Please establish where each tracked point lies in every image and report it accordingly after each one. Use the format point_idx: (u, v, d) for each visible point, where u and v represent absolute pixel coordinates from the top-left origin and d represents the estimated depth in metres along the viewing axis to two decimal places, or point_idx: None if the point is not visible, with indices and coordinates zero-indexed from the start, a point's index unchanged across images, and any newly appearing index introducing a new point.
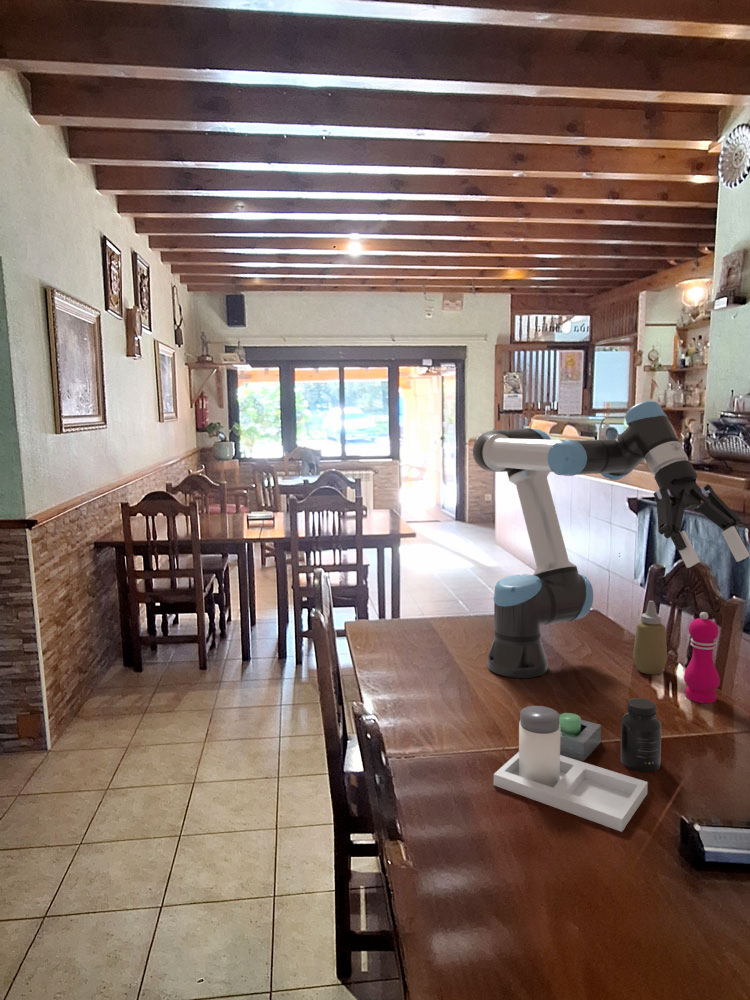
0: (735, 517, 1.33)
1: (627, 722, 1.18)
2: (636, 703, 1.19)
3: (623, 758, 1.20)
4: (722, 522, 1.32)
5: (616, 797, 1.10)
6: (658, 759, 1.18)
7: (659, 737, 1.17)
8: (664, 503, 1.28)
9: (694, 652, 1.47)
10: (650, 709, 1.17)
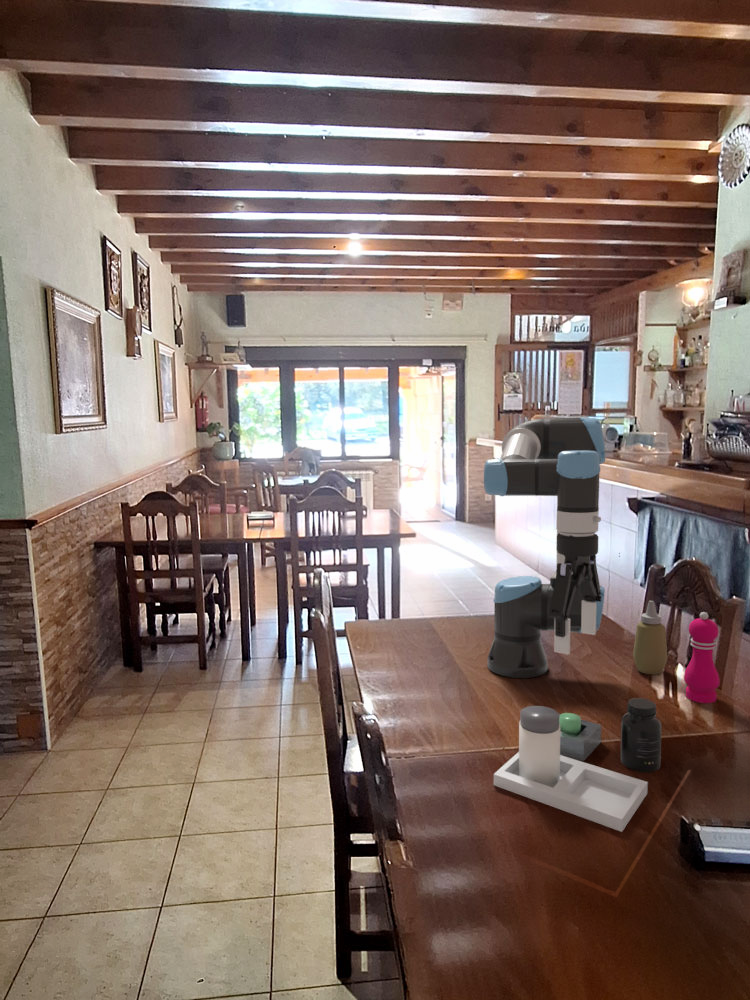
0: (599, 590, 1.31)
1: (627, 722, 1.18)
2: (636, 703, 1.19)
3: (623, 758, 1.20)
4: (588, 594, 1.29)
5: (616, 797, 1.10)
6: (658, 759, 1.18)
7: (659, 737, 1.17)
8: (565, 585, 1.17)
9: (694, 652, 1.47)
10: (650, 709, 1.17)
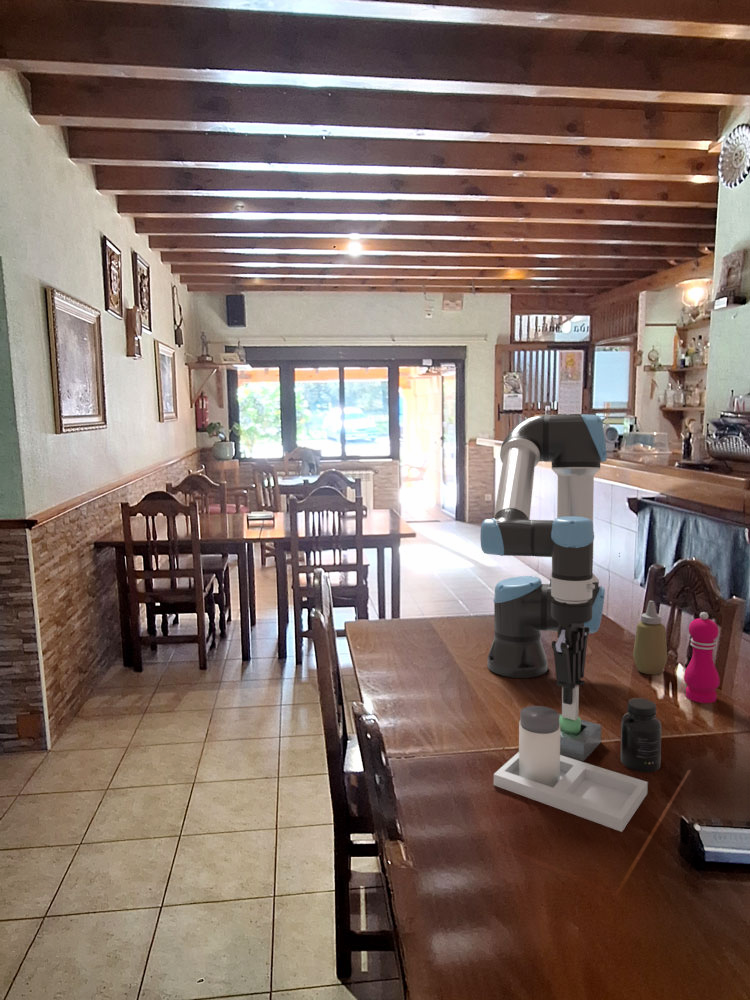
0: (582, 671, 1.28)
1: (627, 722, 1.18)
2: (636, 703, 1.19)
3: (623, 758, 1.20)
4: None
5: (616, 797, 1.10)
6: (658, 759, 1.18)
7: (659, 737, 1.17)
8: (565, 662, 1.21)
9: (694, 652, 1.47)
10: (650, 709, 1.17)
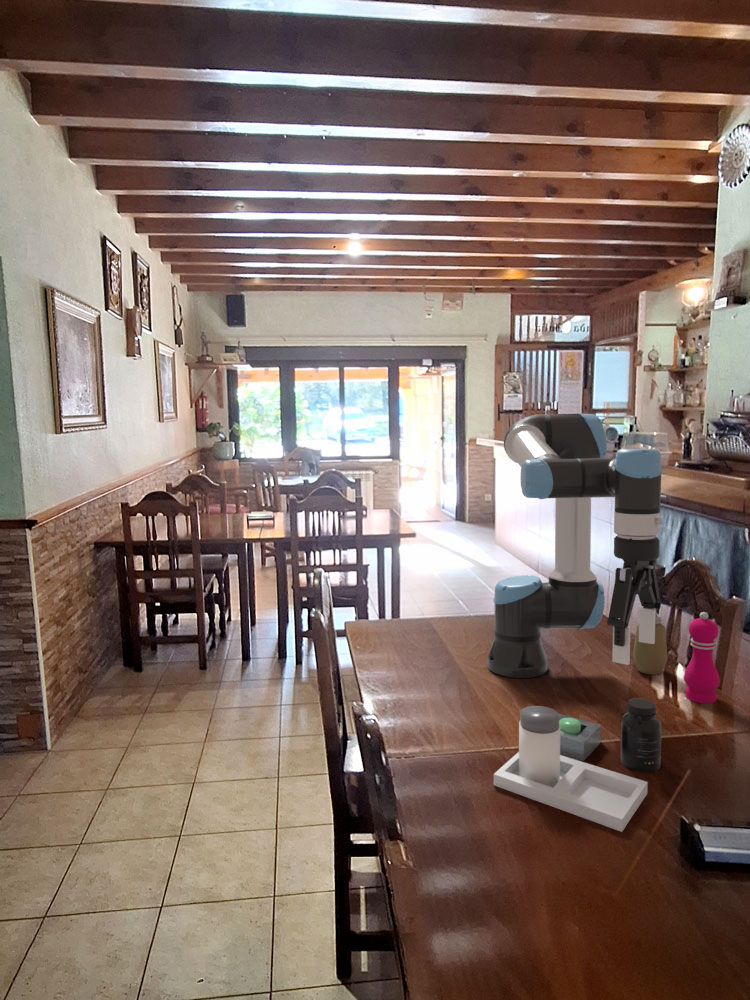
0: (657, 597, 1.24)
1: (627, 722, 1.18)
2: (636, 703, 1.19)
3: (623, 758, 1.20)
4: (647, 601, 1.22)
5: (616, 797, 1.10)
6: (658, 759, 1.18)
7: (659, 737, 1.17)
8: (625, 592, 1.11)
9: (694, 652, 1.47)
10: (650, 709, 1.17)
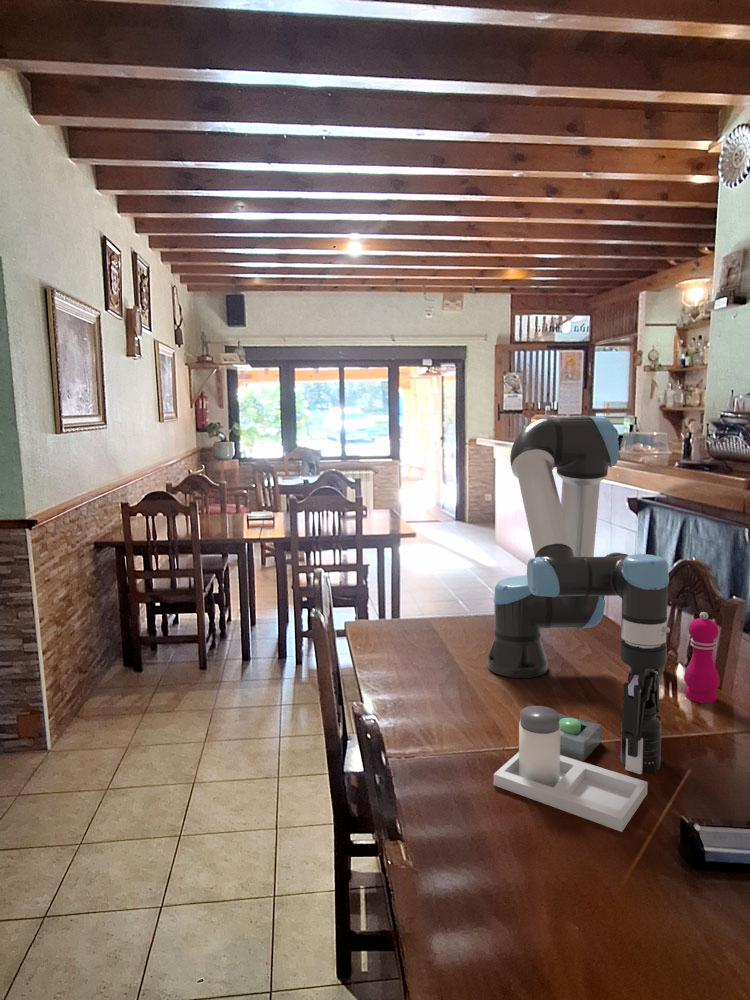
0: (658, 707, 1.24)
1: None
2: None
3: (623, 758, 1.20)
4: None
5: (616, 797, 1.10)
6: (658, 759, 1.18)
7: (659, 737, 1.17)
8: (635, 708, 1.13)
9: (694, 652, 1.47)
10: (650, 709, 1.17)
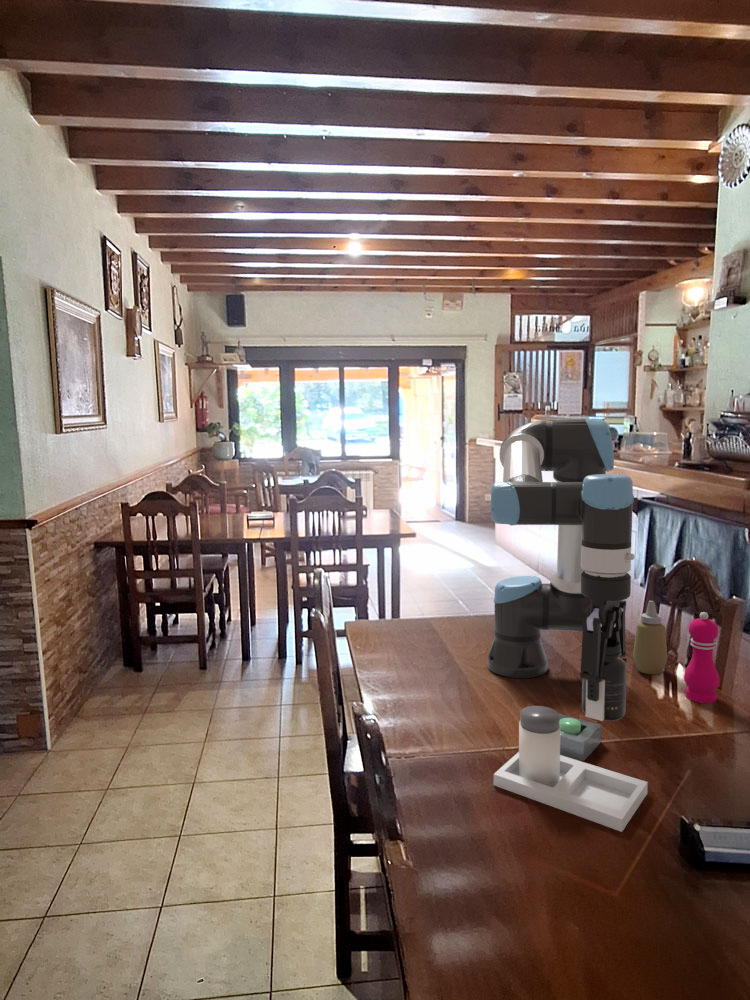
0: (624, 649, 1.10)
1: None
2: None
3: (584, 704, 1.06)
4: None
5: (616, 797, 1.10)
6: (622, 704, 1.04)
7: (624, 679, 1.04)
8: (595, 644, 1.00)
9: (694, 652, 1.47)
10: (613, 647, 1.04)
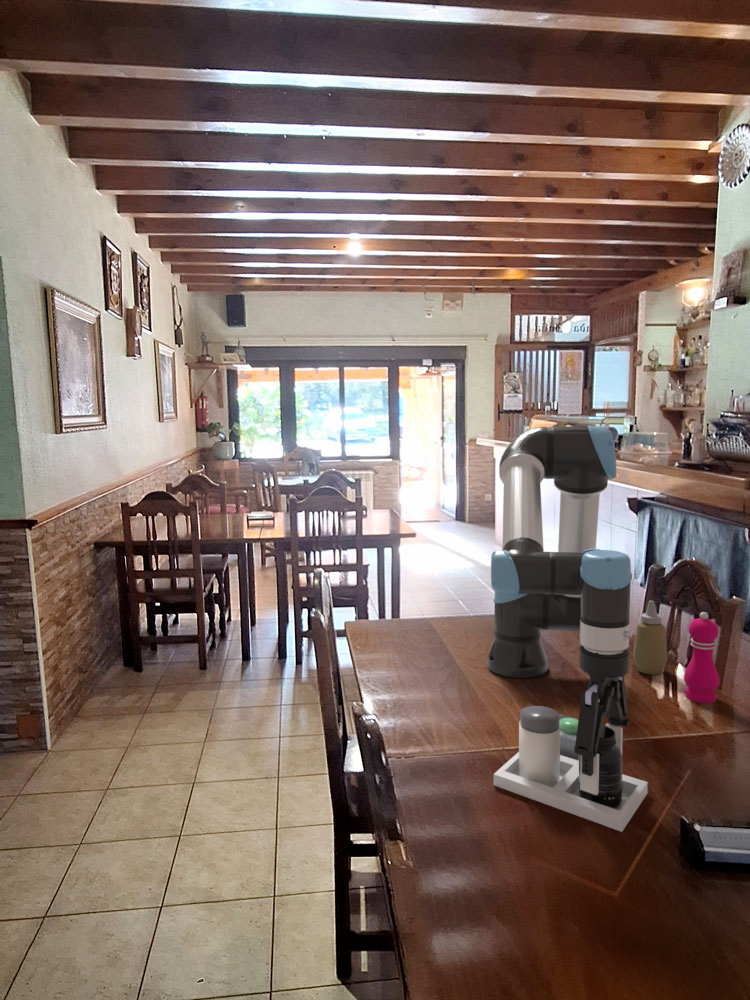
0: (625, 711, 1.13)
1: None
2: None
3: (581, 793, 1.08)
4: (614, 717, 1.12)
5: None
6: (619, 793, 1.06)
7: (619, 769, 1.06)
8: (592, 718, 1.01)
9: (694, 652, 1.47)
10: (609, 738, 1.05)
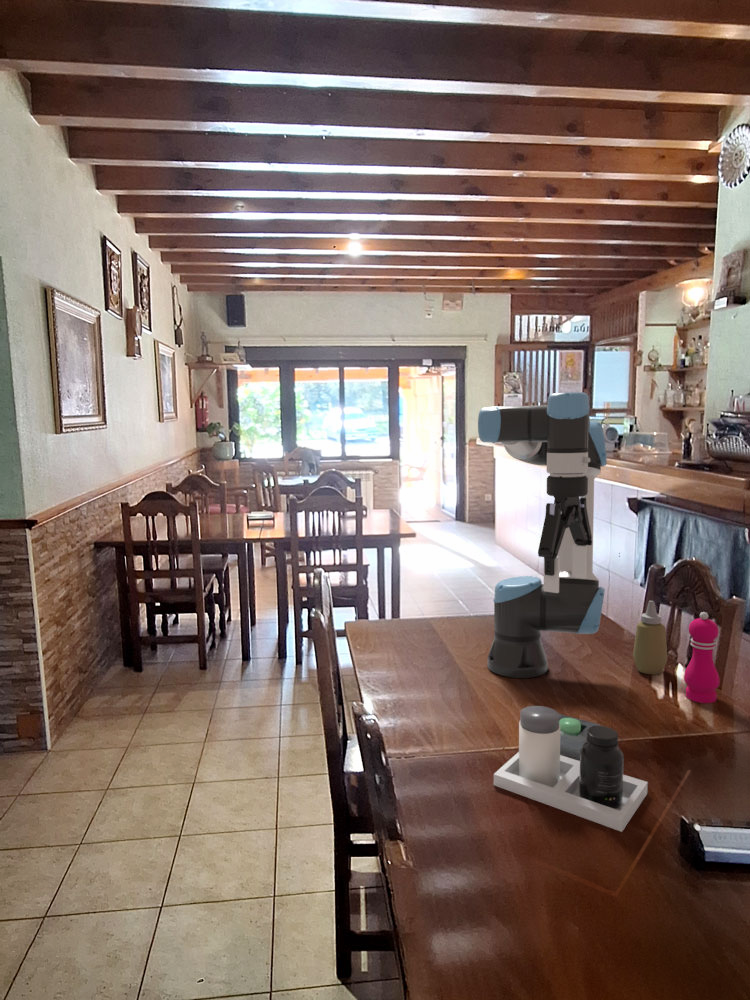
0: (589, 534, 1.32)
1: (587, 753, 1.07)
2: (596, 732, 1.07)
3: (582, 793, 1.08)
4: (579, 538, 1.31)
5: None
6: (620, 794, 1.06)
7: (621, 770, 1.06)
8: (554, 524, 1.19)
9: (694, 652, 1.47)
10: (611, 739, 1.05)
